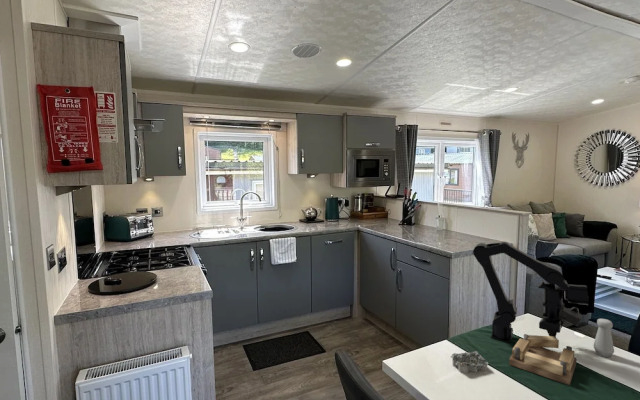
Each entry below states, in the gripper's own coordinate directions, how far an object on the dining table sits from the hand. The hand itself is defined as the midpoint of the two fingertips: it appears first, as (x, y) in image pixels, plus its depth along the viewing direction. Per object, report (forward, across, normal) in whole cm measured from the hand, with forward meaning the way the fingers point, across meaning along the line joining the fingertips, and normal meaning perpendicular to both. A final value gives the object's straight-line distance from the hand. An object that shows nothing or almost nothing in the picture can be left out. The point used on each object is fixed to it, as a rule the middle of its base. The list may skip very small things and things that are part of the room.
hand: (553, 340), depth 125 cm
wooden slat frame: (+3, -15, +1) cm, 15 cm away
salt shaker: (+4, +7, -14) cm, 16 cm away
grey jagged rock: (+2, -34, +20) cm, 39 cm away
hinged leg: (+1, -6, +3) cm, 7 cm away
